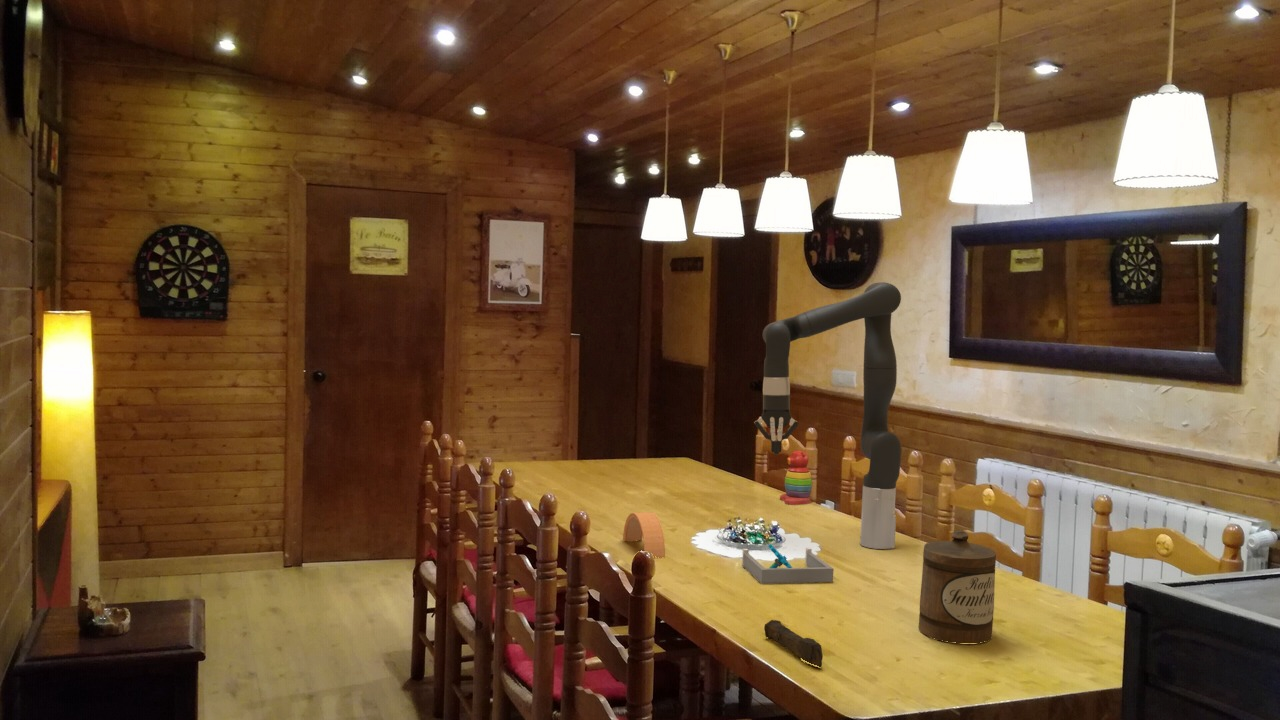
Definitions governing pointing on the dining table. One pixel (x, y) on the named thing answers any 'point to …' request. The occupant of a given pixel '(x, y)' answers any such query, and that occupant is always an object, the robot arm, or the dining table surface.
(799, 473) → the stacking bear
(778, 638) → the dark brown rough bar
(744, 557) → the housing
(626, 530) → the arch
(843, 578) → the dining table surface
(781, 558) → the teal crossed bars
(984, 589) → the wooden container
